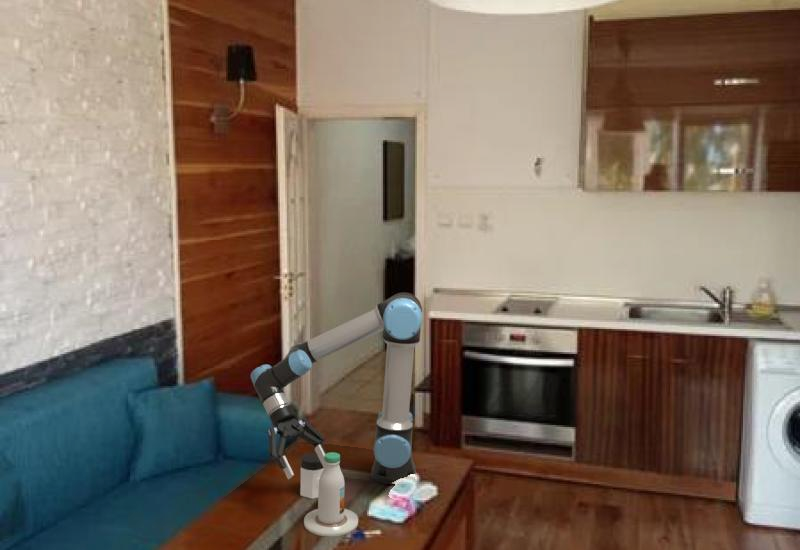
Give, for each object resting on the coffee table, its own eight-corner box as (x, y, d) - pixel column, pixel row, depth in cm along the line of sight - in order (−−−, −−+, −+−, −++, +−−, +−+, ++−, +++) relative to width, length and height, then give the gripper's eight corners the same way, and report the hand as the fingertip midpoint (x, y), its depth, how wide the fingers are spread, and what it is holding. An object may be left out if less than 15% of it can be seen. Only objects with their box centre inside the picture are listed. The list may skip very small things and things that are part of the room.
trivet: (354, 509, 236) (354, 505, 236) (361, 534, 221) (361, 530, 220) (302, 512, 233) (302, 508, 233) (305, 538, 218) (305, 533, 218)
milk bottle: (333, 527, 222) (334, 462, 218) (312, 520, 226) (313, 455, 223) (349, 517, 228) (350, 453, 225) (328, 510, 232) (329, 447, 229)
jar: (306, 501, 241) (306, 464, 239) (294, 491, 247) (295, 455, 246) (331, 494, 246) (332, 459, 244) (319, 485, 252) (320, 450, 251)
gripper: (305, 408, 251) (334, 465, 243) (241, 425, 234) (270, 488, 226) (316, 396, 247) (346, 454, 239) (251, 413, 229) (280, 476, 221)
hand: (309, 471), depth 232 cm, fingers open, 13 cm apart
